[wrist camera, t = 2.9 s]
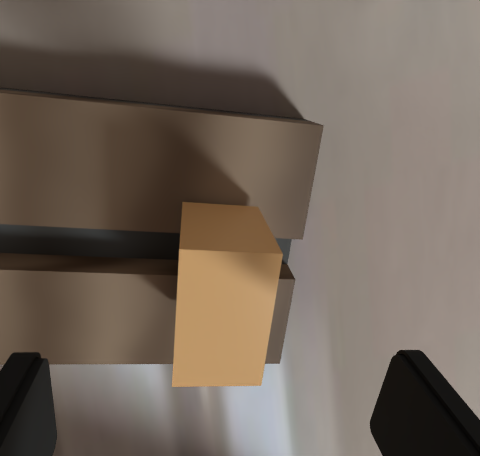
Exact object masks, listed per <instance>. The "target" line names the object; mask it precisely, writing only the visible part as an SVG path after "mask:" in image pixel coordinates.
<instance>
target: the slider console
mask: <svg viewBox="0 0 480 456" xmlns="http://www.w3.org/2000/svg"><path fill="white" fill-rule="evenodd" d="M322 131H323V125H320V124H317V123H314V122H311V121H308V120H305V119H297V118H287V117H277V116H268V115H258V114H249V113H239V112H229V111H220V110H210V109H200V108H191V107H181V106H172V105H162V104H152V103H143V102H133V101H123V100H114V99H104V98H94V97H85V96H75V95H66V94H56V93H46V92H37V91H27V90H17V89H8V88H0V364H5V363H6V361H7V360H8V358H9V357H10V355H11V354H12V353H14V352H39V353H40V354H41V358H47V359H48V362H49V364H173V360H174V340H175V321H176V302H177V282H178V263H179V245H180V231H181V217H182V202H192V203H208V204H223V205H239V206H255V207H258V208H259V210H260V211H261V213H262V215H263V217H264V219H265V221H266V223H267V225H268V227H269V228H270V230H271V232H272V234H273V236H274V238H275V240H276V242H277V244H278V245H279V247H280V249H281V251H282V253H283V257H282V263H281V269H280V275H279V281H278V287H277V293H276V299H275V305H274V311H273V317H272V323H271V329H270V335H269V341H268V347H267V353H266V359H265V364H280V359H281V354H282V348H283V343H284V337H285V332H286V327H287V321H288V316H289V310H290V305H291V299H292V294H293V289H294V283H295V278H294V276H293V274H292V273H291V271H290V269H289V267H288V265H287V263H288V257H289V251H290V245H291V239H303V234H304V229H305V223H306V218H307V213H308V207H309V202H310V196H311V191H312V186H313V180H314V175H315V169H316V164H317V158H318V153H319V148H320V142H321V137H322Z"/></svg>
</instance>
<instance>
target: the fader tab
mask: <svg viewBox="0 0 480 456" xmlns="http://www.w3.org/2000/svg"><path fill="white" fill-rule="evenodd" d="M282 257H283V253H282V251H281V249H280V247H279V245H278V244H277V242H276V240H275V238H274V236H273V234H272V232H271V230H270V228H269V227H268V225H267V223H266V221H265V219H264V217H263V215H262V213H261V211H260V210H259V208H258V207H255V206H239V205H223V204H208V203H192V202H182V217H181V231H180V245H179V263H178V282H177V302H176V321H175V340H174V360H173V379H172V387H193V386H261V384H262V378H263V371H264V365H265V359H266V353H267V347H268V341H269V335H270V329H271V323H272V317H273V311H274V305H275V299H276V293H277V287H278V281H279V275H280V269H281V263H282Z"/></svg>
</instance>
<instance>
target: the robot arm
mask: <svg viewBox="0 0 480 456" xmlns="http://www.w3.org/2000/svg"><path fill="white" fill-rule="evenodd" d="M370 429H371V433H372V435H373V437H374V439H375V441H376V443H377V445H378V447H379V449H380V451H381V453H382V455H383V456H480V420H479V418H478V417H477V416H476V415H475V414H474V412H473V411H472V410H471V409H470V408H469V407H468V405H467V404H466V403H465V402H464V401H463V399H462V398H461V397H460V396H459V395H458V393H457V392H456V391H455V390H454V389H453V387H452V386H451V385H450V384H449V383H448V381H447V380H446V379H445V378H444V377H443V375H442V374H441V373H440V372H439V371H438V369H437V368H436V367H435V366H434V365H433V363H432V362H431V361H430V360H429V359H428V357H427V356H426V355H425V354H424V353H423V352H422V351H420V350H400V351H398V352H397V354H396V355H395V356H393V357H392V359H391V362H390V364H389V367H388V370H387V373H386V376H385V379H384V382H383V385H382V388H381V391H380V394H379V397H378V399H377V402H376V405H375V408H374V411H373V414H372V417H371V420H370ZM56 439H57V430H56V421H55V413H54V404H53V396H52V387H51V378H50V370H49V362H48V359H47V358H41V354H40V353H39V352H14V353H12V354H11V355H10V357H9V358H8V360H7V361H6V363H5V364H4V366H3V368H2V369H1V371H0V456H52V455H53V452H54V449H55V445H56Z"/></svg>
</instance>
